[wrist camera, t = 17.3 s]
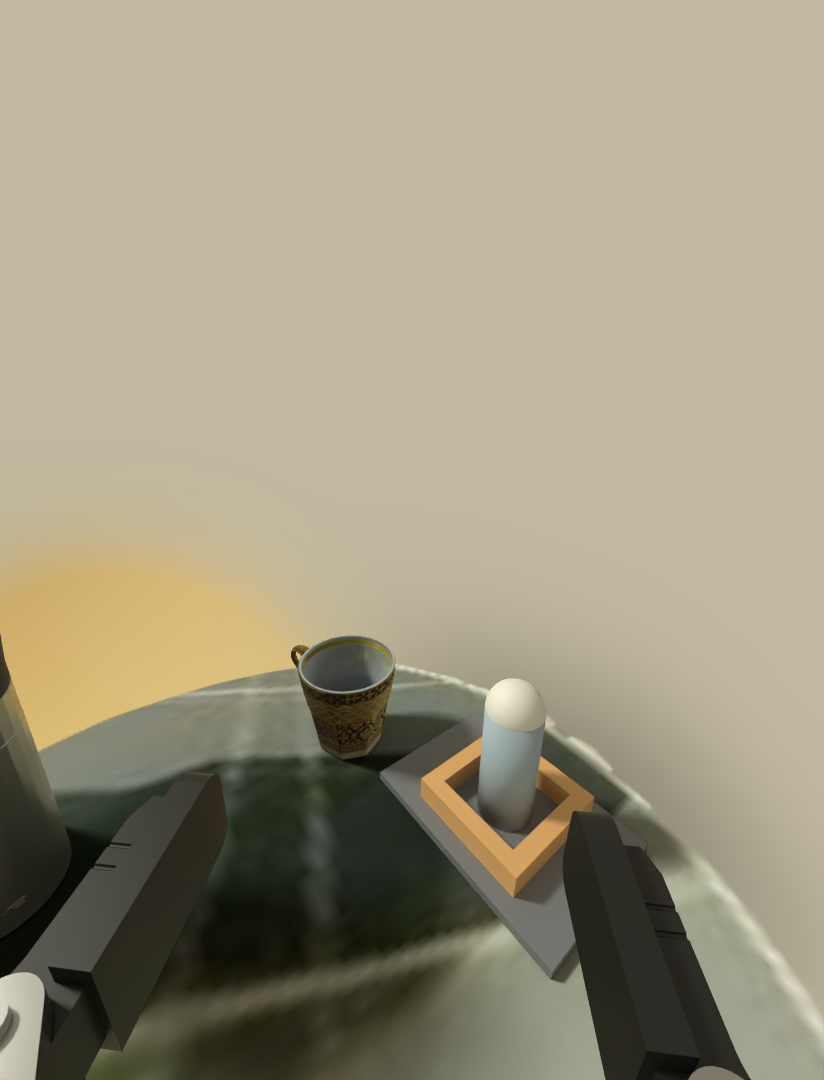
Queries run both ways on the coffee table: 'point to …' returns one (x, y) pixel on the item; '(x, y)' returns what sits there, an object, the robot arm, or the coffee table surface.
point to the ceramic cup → (346, 691)
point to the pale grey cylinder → (510, 754)
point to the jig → (499, 836)
